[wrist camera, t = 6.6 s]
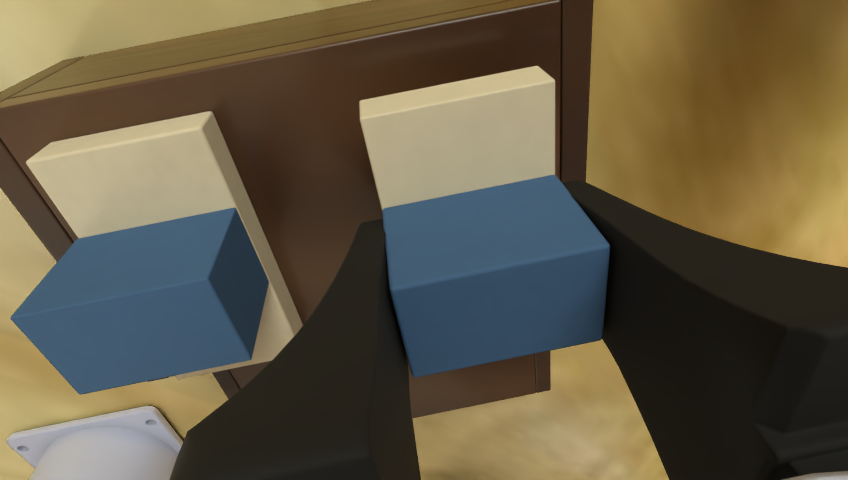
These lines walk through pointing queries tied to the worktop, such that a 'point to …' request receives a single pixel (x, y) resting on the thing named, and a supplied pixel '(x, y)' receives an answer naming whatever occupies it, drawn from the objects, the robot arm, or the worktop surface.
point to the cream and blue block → (155, 260)
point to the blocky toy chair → (482, 223)
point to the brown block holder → (310, 129)
